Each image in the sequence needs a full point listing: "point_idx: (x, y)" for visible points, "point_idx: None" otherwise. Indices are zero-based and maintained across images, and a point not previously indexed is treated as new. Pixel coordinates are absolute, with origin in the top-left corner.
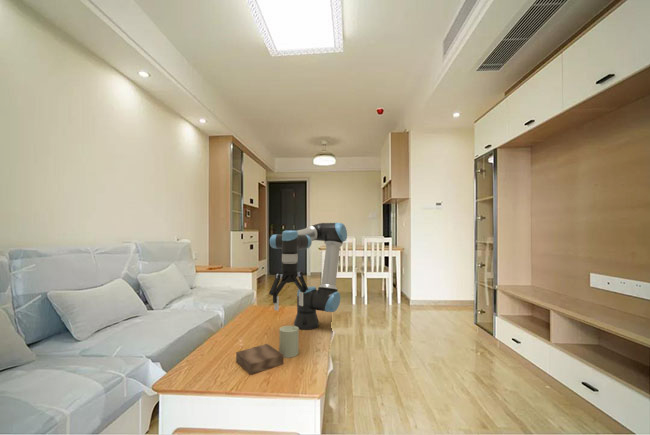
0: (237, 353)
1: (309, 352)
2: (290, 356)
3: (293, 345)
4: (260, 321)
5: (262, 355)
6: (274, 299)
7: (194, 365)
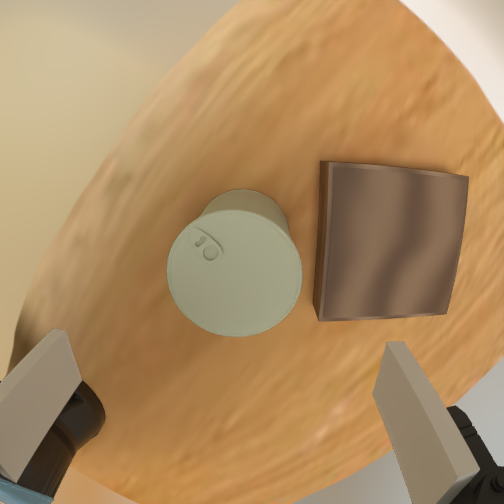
0: (448, 303)
1: (160, 185)
2: (260, 193)
3: (243, 197)
4: (190, 494)
5: (405, 217)
6: (480, 440)
7: (495, 338)
